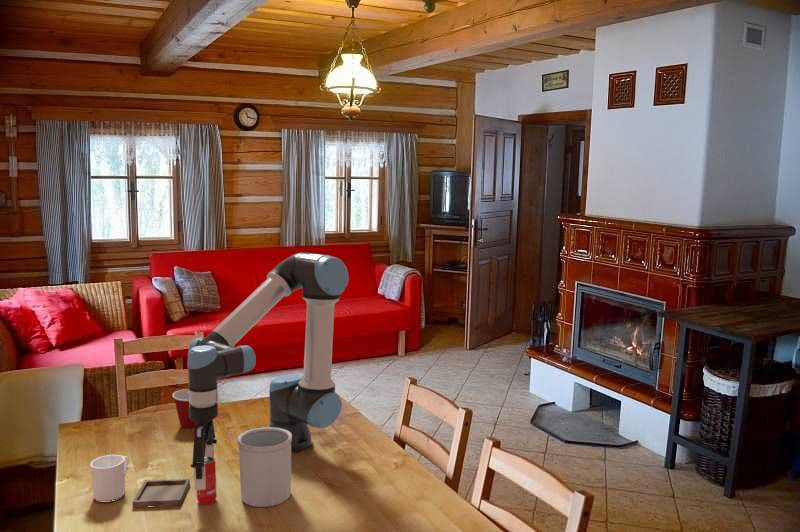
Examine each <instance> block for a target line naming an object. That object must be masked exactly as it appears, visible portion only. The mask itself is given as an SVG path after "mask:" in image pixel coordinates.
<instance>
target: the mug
mask: <svg viewBox="0 0 800 532" xmlns="http://www.w3.org/2000/svg"><path fill="white" fill-rule="evenodd" d="M129 459H130V458H129V457H128V456H127V455H120V454H107V455H106V454H105V455H102V456H98V457H97V458H94V459H93V460H91V462H90V464H89V465H90V472H91V479H92V489H93V499H94V498H95V499H94V501H95V500H97V501H112V500H116V499H118V498H120V497H121V496H123V495H124V494H125V495H126V480H125V479H126V475H127V471H128V467H129V466H128V465H129V464H130V463H129V462H130V461H129ZM125 495H124V496H125ZM124 496H123V497H124ZM97 501H96V502H97Z"/></svg>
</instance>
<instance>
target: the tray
mask: <svg viewBox="0 0 800 532" xmlns="http://www.w3.org/2000/svg"><path fill="white" fill-rule="evenodd" d="M190 486H191V479H190V478H180V479H179V478H178V479H174V478H173V479H172V478H171V479H150V480H146V479H145V480H144V482H143V483H142V485H141V487H140V488H139V490H138V492H137V493H136V495H135V497H134V499H133V500H132V501H131V502H132V503H131V504H132V508H133V507H148V506H173V507H181V506H182V503H183V501H184V499H185V497H186V495H187V492H188V490H189V488H190ZM148 508H149V507H148Z"/></svg>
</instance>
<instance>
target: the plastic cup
mask: <svg viewBox="0 0 800 532" xmlns="http://www.w3.org/2000/svg"><path fill="white" fill-rule="evenodd" d="M187 392H189V388H185V389H179V390H176V391H174V392H173V393H172V398H173V400H174V403H175V408H176V411H177V412H176V413H177V417H178V419H179V421H178V422H179V424H180V428H182V427H183V428H182V429H186V428H188V429H194V428H195V426H197V422H196V421H193V420H191V419H190V418H189V405H190V403H189V395H187V394H186V393H187ZM193 427H194V428H193Z"/></svg>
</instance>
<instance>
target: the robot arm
mask: <svg viewBox="0 0 800 532" xmlns="http://www.w3.org/2000/svg"><path fill="white" fill-rule="evenodd" d="M348 271H349V270H348V268H347V266H346V264H345V263H344V262H343V260H341V259H340V258H339V257H335V256H331V255H328V254H319V253H311V252H307V251H306V252H305V251H304V252H303V251H302V252H299V253H295V254H292V255H291V256H289V257H287V258H286V259H284V260H282V261H281V262H280V263H278V264H277V265H276V266H275V267H274V268H272V270H270V271H269V272H268V273H267V275H266V279H265V281H263V282H262V283H261V284H260V285H259V286H258V287H257V288H256V289H255V290H254V291H253V292H252V293H251V294H250V295H249V296H248V297H246V299H245V300H243V301H242V302H241V303H240V304H239V305H238V306H237V307H236V308H235V309H234V310H233V311H232V312H231V313H230V314H229V315H227V316H226V317H225V318H224V319H223V321H221V322H220V323H219V324H218V325H217V326H216V327H215V328H214V329H213V330H212V331H211V332H210V333H208V334H207V336H206V337H197V338H195V339H193V340H192V341H191V342H190V344H189V346H188V352H187V365H186V366H187V381H188V382H187V383H188V384H187V385H188V389H189V392H187V393H186V394H187V395H189V403H190V405H189V418H190V419H191V420H193V421H196V422H197V426H195V427H194V428H193V429H194V430H193V435H194V436H193V453H192V463H191V464H190V468H193V471H194V472H193V473H194V475H193V477H194V479H193V480H194V481H193V482H194V491H197V490H204V489H205V488H206V482H205V465H204V460H205V457H213V458H214V459H215V445H216V444H217V441H218V440H217V439H216V433H215V432H216V431H215V426H214V420H215V419H216V418H217V417H218V415H219V411H218V409H219V407H218V401H219V397H218V396H219V395H218V393H219V392H218V391H219V390H218V380H220V379H223V378H228V377H232V376H236V375H241V374H244V373H246V372H249V371H250V372H251V371H253V369H254V368H255V366H256V364H257V363H256V362H257V359H256V358H257V357H256V353H255V351H254V349H253V348H252V346H249V345H238V346H235V345H236V344H237V343H238V342H239V341H241V339H242V338H243V337H244V336H245V335H246V334H247V333H249V331H251V329H252V328H253V327H255V325H256V324H257V323H258V322H260V320H262V318H263V317H264V316H266V314H267V313H269V312H270V311H271V309H272V308H274V307H275V306H276V305H277V304H278V302H280V301H281V300H282V299H283V298H284V297H289V296H290V295H291V294H292V293H293V292H295V291H297V290H300V289H301V290H302V294H301V295H302V300H303V301H305V302H306V314H305V315H306V316H305V317H306V318H305V319H306V320H305V336H304V337H305V338H304V357H303V358H304V359H303V375H302V374H287V375H286V374H285V375H281V376H278V377H275V378H273V379H272V380H271V381H270V383H269V390H268V393H269V415H270V417H269V419H270V420H269V421H270V423H269V426H268V427H273V428H281V429H285V430H287V431H289V432H290V433H291V434H292V441H291V454H292V453H297V452H298V453H299V452H302V451H304V450H307V449H308V448H310V446H311V445H312V434H311V431H310V429H309V426H310V427H313V428H317V429H326V428H329V427H331V426H332V425H334V423H335V421H336V420H337V419H338V418H339V416H340V414H341V411H342V409H343V408H342V407H343V406H342V405H343V403H342V398H341V397H340V396H339V394H338V393H336V383H335V381H334V380H333V379H332V365H333V364H332V362H333V361H332V358H333V341H334V340H333V339H334V338H333V337H334V320H335V304H336V303H337V302H339V301H340V298H341V297H340V296H341V294H342V293H344V291H345V290H346V288H347V287H348V284H349V272H348ZM214 444H215V445H214Z"/></svg>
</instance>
